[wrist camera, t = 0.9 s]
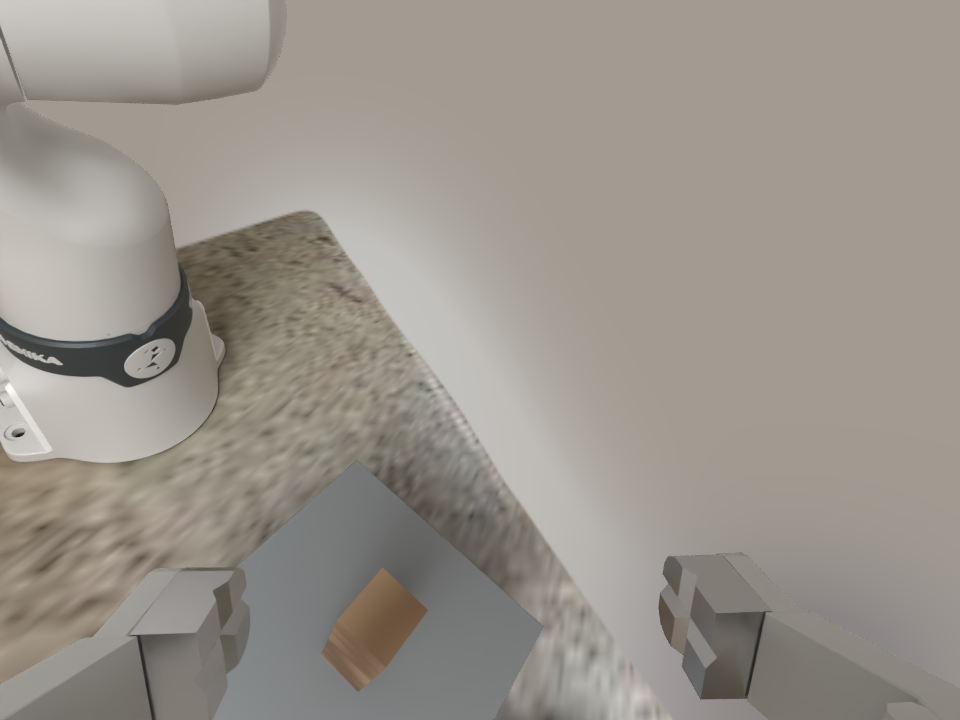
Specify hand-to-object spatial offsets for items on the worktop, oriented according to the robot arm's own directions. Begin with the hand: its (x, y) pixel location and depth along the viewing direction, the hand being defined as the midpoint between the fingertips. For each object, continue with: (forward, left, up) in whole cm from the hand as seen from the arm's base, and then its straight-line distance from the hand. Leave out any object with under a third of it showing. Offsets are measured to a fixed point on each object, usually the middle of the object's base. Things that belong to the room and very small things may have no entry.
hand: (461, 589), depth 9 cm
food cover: (-1, +3, -35) cm, 35 cm away
